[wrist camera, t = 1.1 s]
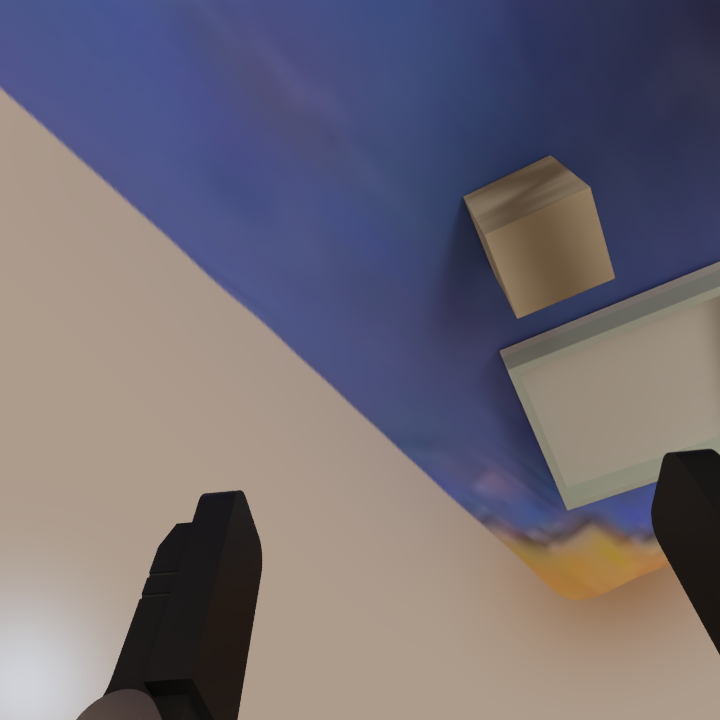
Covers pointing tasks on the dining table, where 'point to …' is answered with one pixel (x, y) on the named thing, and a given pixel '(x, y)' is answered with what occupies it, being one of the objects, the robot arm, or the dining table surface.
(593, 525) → the dining table surface
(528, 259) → the birch block
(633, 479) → the dish
